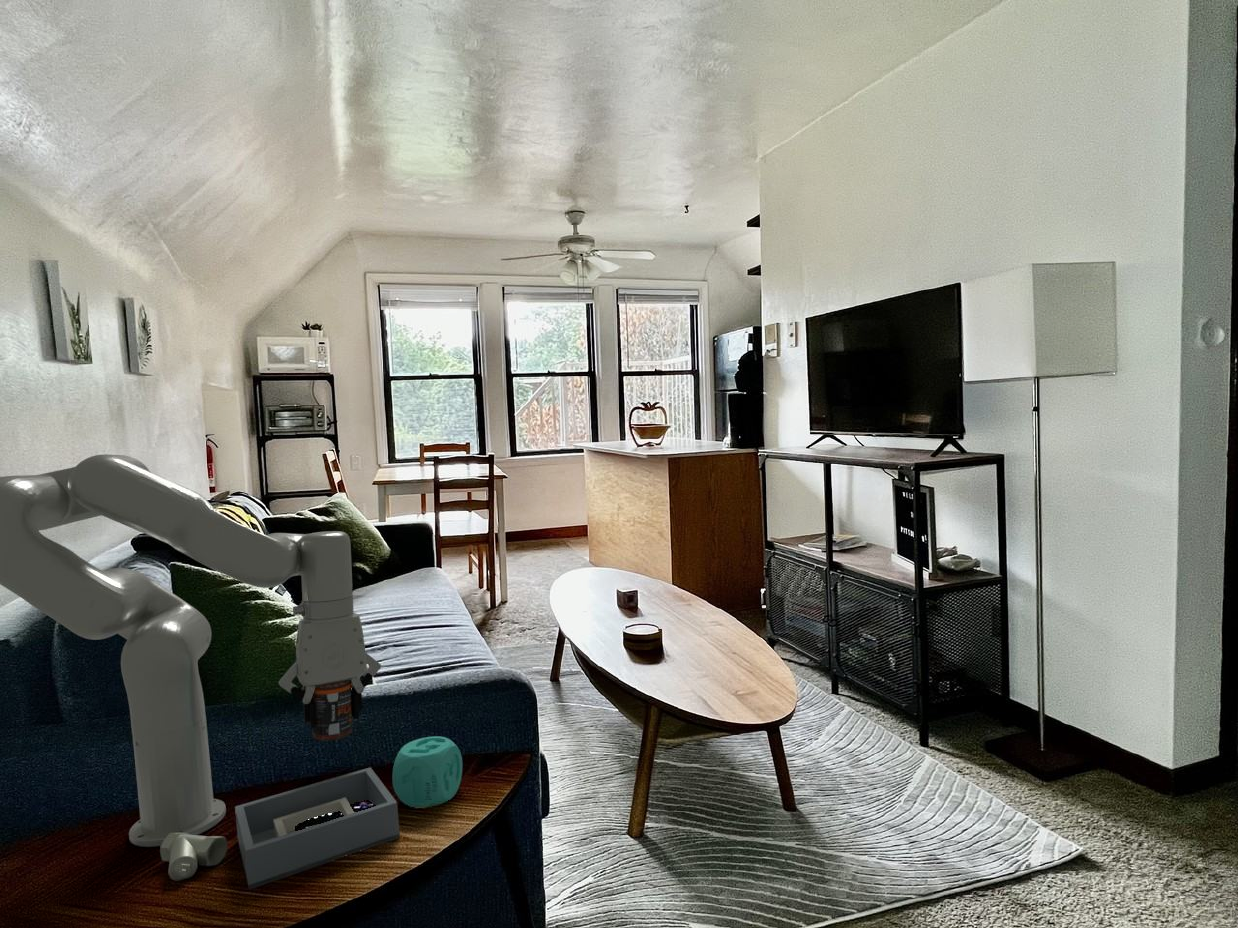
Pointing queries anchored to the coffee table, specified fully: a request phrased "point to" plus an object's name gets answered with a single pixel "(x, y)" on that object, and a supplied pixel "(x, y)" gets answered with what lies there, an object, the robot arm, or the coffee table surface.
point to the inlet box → (286, 852)
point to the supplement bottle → (333, 710)
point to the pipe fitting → (191, 853)
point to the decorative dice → (427, 771)
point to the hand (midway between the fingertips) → (333, 719)
